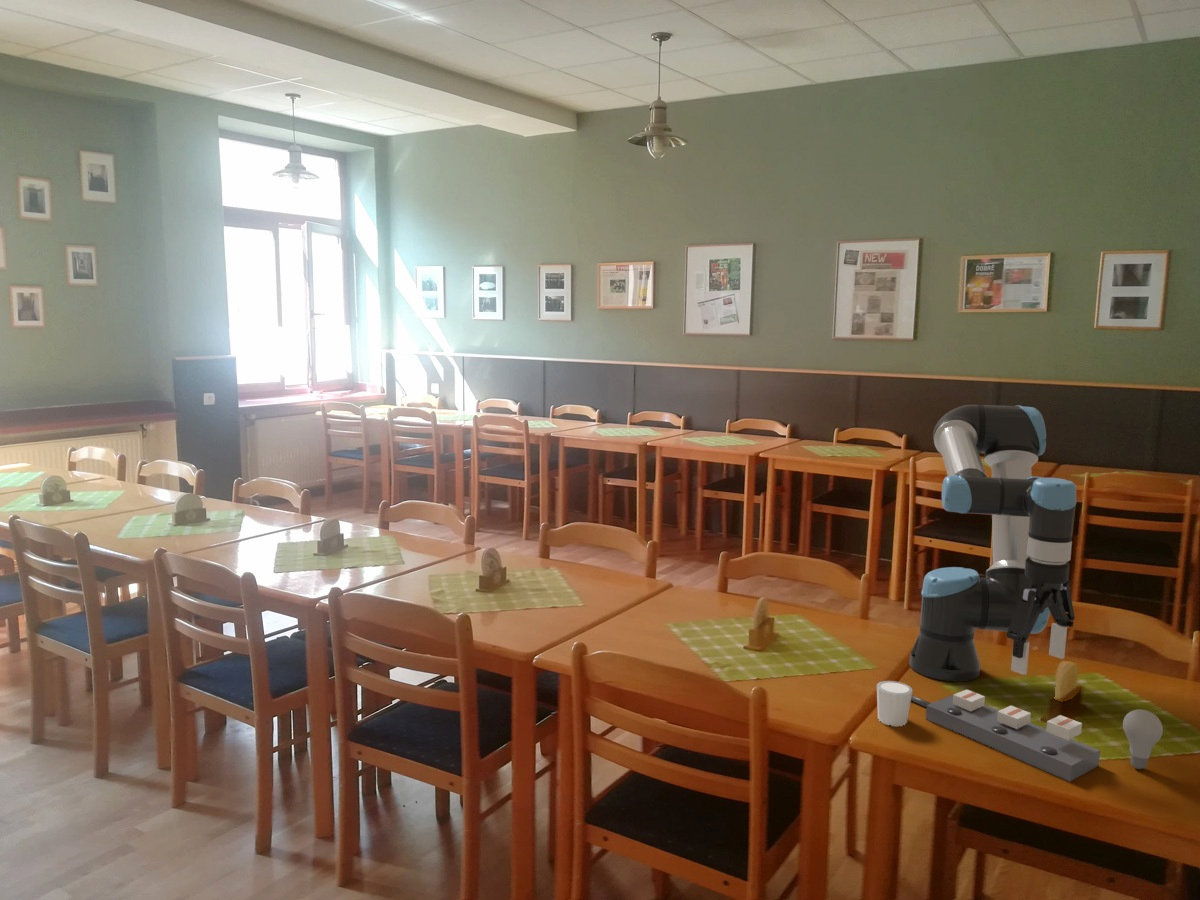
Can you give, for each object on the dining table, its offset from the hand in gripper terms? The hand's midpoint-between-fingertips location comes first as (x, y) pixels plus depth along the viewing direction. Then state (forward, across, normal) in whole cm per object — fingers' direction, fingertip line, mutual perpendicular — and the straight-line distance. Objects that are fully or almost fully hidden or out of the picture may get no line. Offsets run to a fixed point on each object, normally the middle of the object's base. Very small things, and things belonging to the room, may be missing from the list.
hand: (1037, 664), depth 172 cm
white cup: (+14, +20, -18) cm, 30 cm away
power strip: (+13, +9, -5) cm, 17 cm away
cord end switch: (+10, +8, -9) cm, 16 cm away
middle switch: (+10, +8, 0) cm, 13 cm away
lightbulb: (+13, -1, +19) cm, 24 cm away
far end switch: (+8, +8, +10) cm, 15 cm away
